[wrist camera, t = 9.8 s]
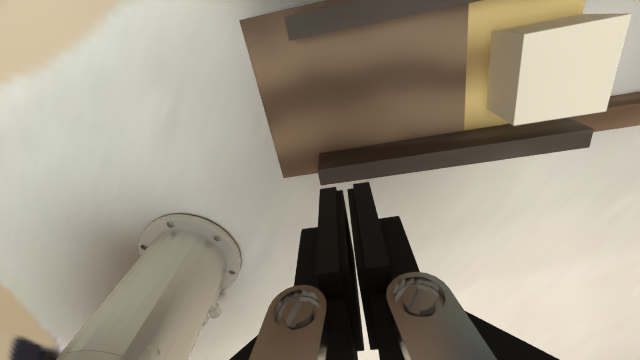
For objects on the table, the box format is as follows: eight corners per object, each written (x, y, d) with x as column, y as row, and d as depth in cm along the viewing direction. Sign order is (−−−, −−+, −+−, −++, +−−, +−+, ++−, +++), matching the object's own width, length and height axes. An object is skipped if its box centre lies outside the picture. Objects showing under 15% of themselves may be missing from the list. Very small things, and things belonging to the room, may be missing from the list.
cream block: (563, 96, 25) (606, 111, 21) (486, 108, 25) (513, 125, 22) (578, 14, 22) (631, 13, 18) (491, 31, 23) (524, 34, 19)
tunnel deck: (660, 109, 27) (738, 132, 22) (287, 166, 32) (277, 196, 27) (729, -88, 21) (862, -124, 15) (247, 20, 25) (224, 21, 20)
